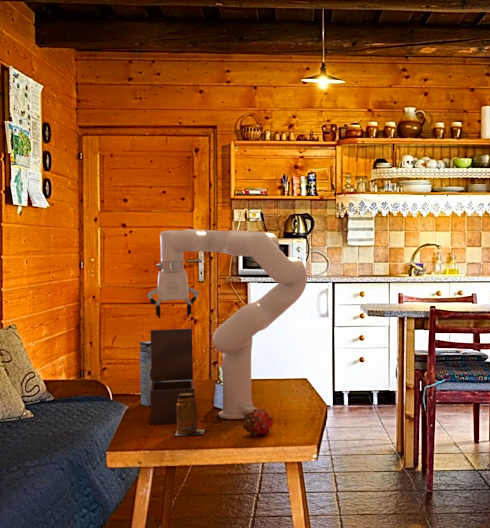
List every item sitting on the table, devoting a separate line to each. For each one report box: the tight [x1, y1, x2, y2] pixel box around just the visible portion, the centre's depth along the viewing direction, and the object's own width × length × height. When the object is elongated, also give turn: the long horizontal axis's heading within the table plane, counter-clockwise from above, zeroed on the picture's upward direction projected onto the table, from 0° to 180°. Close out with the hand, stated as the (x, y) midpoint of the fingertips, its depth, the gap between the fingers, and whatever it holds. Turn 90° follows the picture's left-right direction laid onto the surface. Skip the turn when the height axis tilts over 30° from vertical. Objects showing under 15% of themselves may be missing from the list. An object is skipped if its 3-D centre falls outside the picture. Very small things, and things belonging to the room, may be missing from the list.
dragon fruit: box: [242, 408, 274, 437], centre depth 254 cm, size 8×8×12 cm
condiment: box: [174, 392, 206, 437], centre depth 258 cm, size 7×8×12 cm
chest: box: [150, 380, 195, 425], centre depth 281 cm, size 17×14×11 cm
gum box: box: [139, 340, 194, 407], centre depth 310 cm, size 20×5×23 cm, turn 134°
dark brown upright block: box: [150, 328, 194, 381], centre depth 290 cm, size 18×14×5 cm
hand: (173, 317), depth 286 cm, fingers open, 9 cm apart
